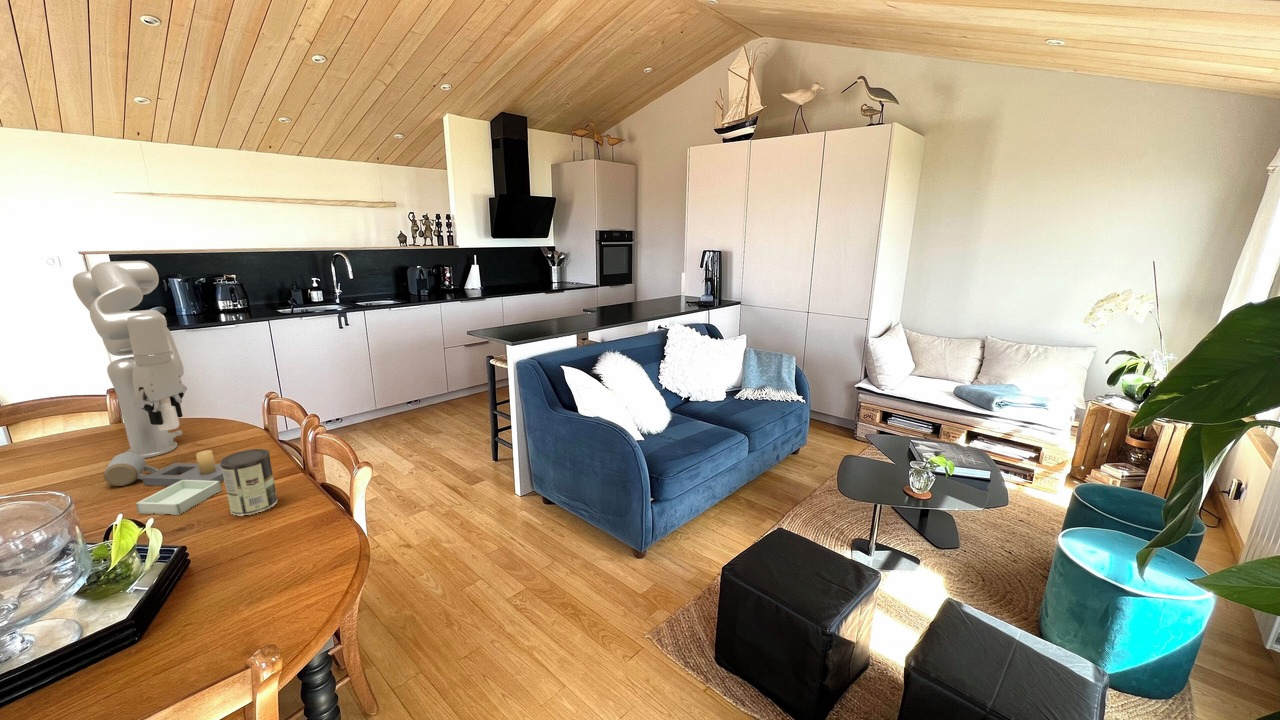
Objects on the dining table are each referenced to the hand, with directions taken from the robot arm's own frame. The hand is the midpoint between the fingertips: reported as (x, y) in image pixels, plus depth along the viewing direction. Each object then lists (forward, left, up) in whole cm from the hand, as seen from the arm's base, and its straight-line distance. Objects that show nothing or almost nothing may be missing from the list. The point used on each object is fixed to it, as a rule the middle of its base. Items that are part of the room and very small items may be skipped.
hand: (167, 420), depth 148 cm
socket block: (0, +4, -18) cm, 18 cm away
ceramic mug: (+2, -12, -18) cm, 22 cm away
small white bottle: (0, +1, -3) cm, 3 cm away
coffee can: (+14, +34, -18) cm, 41 cm away
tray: (+13, +13, -18) cm, 26 cm away
